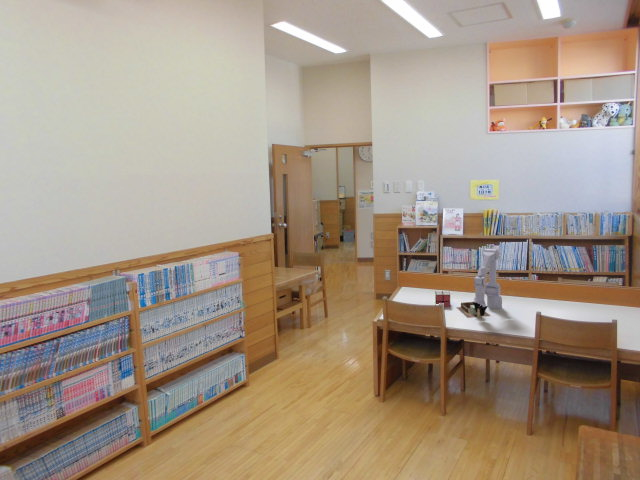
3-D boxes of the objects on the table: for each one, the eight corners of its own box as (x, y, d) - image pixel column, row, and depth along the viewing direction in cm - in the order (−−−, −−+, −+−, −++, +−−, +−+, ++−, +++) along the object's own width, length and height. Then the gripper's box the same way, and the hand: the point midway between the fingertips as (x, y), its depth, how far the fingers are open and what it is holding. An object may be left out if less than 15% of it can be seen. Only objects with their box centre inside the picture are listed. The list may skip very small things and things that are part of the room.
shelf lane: (477, 306, 333) (477, 301, 332) (490, 317, 311) (490, 310, 311) (455, 308, 332) (455, 302, 331) (467, 318, 310) (467, 312, 310)
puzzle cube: (450, 308, 334) (450, 294, 332) (436, 307, 336) (435, 294, 334) (449, 303, 343) (449, 290, 342) (435, 303, 346) (435, 290, 344)
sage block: (477, 311, 320) (477, 303, 319) (484, 317, 309) (484, 309, 308) (470, 312, 320) (470, 304, 319) (476, 318, 308) (476, 310, 308)
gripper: (469, 291, 314) (469, 310, 316) (478, 298, 300) (478, 318, 302) (480, 290, 314) (479, 310, 317) (489, 297, 300) (488, 317, 302)
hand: (479, 314), depth 309 cm, fingers open, 7 cm apart
